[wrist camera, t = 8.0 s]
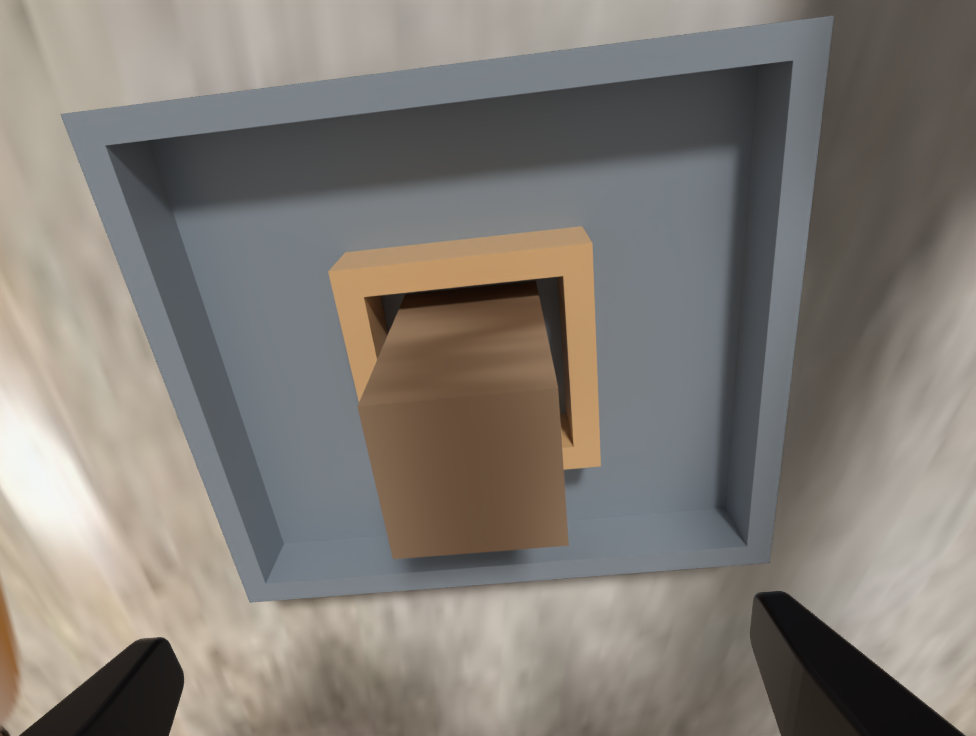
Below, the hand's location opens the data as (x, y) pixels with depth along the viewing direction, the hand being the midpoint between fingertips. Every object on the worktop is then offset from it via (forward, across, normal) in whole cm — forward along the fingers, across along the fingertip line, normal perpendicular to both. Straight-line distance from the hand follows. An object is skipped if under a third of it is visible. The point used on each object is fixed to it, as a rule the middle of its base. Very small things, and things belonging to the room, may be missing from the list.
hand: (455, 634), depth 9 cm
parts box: (+12, 0, 0) cm, 12 cm away
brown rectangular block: (+11, 0, 0) cm, 11 cm away
